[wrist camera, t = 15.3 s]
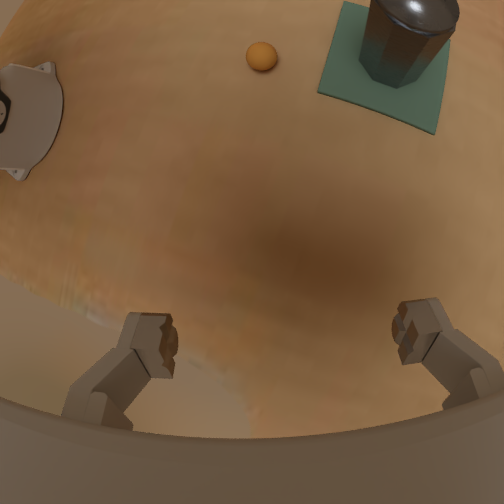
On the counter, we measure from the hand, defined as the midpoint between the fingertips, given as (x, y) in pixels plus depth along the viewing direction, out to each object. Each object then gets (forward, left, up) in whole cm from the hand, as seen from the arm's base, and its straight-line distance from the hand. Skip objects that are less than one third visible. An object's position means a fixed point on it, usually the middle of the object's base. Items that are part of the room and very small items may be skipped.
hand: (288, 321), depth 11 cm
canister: (+2, +20, -19) cm, 28 cm away
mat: (+2, +20, -20) cm, 28 cm away
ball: (-10, +16, -20) cm, 27 cm away
